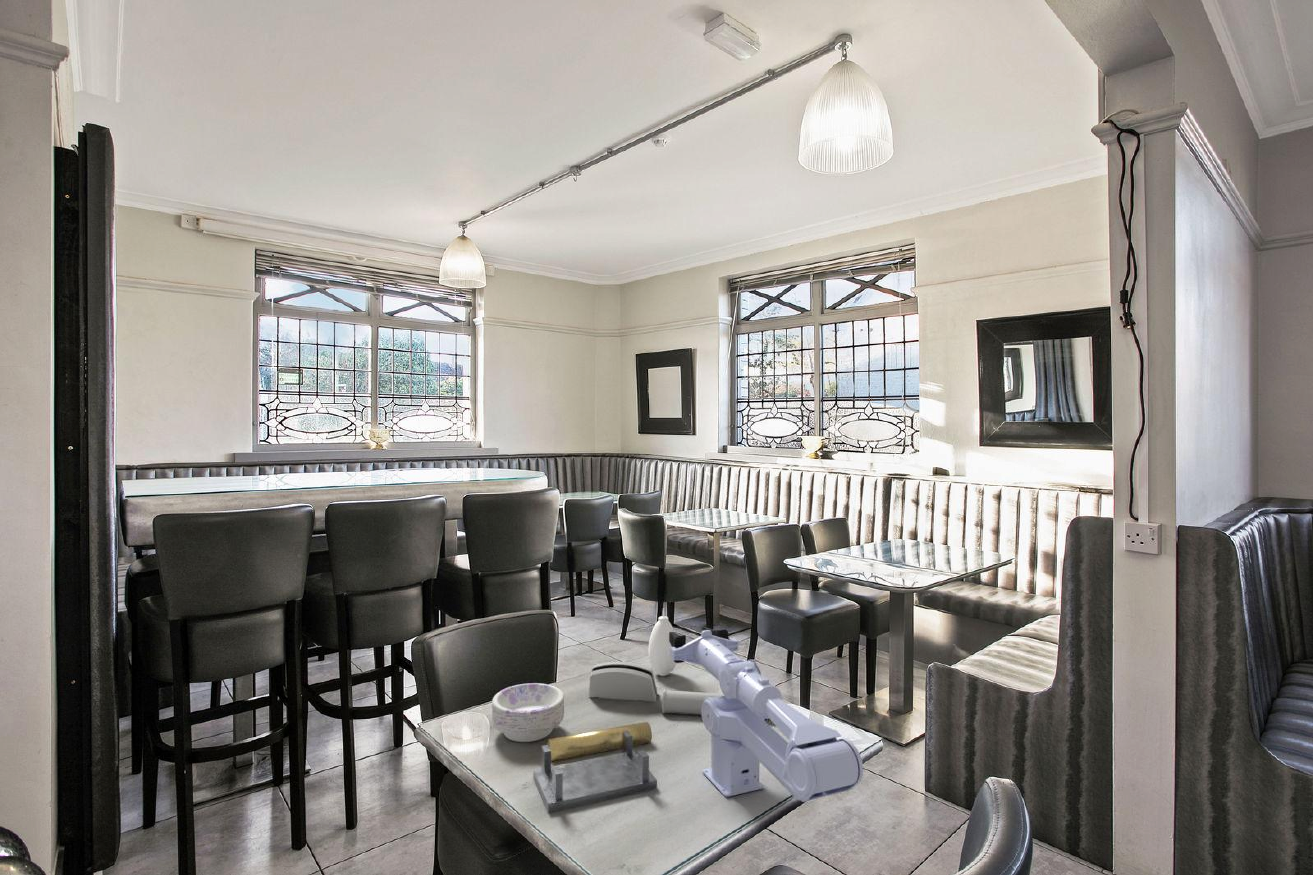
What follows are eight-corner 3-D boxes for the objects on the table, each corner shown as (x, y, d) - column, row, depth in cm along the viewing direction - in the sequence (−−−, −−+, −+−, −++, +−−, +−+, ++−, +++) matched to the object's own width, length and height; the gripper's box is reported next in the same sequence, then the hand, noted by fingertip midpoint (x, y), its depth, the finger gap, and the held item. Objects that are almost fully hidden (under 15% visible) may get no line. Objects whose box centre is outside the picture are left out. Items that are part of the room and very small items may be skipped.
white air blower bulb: (644, 671, 178) (644, 604, 178) (671, 668, 181) (671, 602, 181) (654, 681, 171) (654, 612, 171) (682, 678, 174) (682, 609, 174)
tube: (772, 695, 154) (665, 688, 157) (773, 696, 149) (662, 689, 152) (772, 720, 152) (663, 712, 155) (773, 722, 147) (661, 714, 150)
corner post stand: (657, 788, 120) (657, 755, 120) (548, 812, 113) (548, 777, 112) (633, 758, 131) (633, 728, 131) (533, 778, 124) (533, 746, 124)
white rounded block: (658, 693, 164) (656, 660, 160) (656, 707, 159) (654, 673, 156) (592, 689, 166) (589, 656, 163) (588, 702, 162) (585, 669, 158)
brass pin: (644, 737, 141) (644, 718, 141) (651, 745, 137) (651, 726, 137) (547, 755, 133) (547, 735, 133) (551, 765, 129) (552, 744, 129)
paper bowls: (509, 757, 132) (509, 717, 132) (481, 729, 144) (481, 692, 144) (577, 736, 141) (577, 699, 141) (544, 711, 153) (544, 677, 153)
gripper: (750, 634, 131) (717, 612, 144) (683, 644, 126) (656, 620, 138) (749, 668, 132) (717, 643, 144) (682, 680, 126) (655, 652, 139)
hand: (687, 634), depth 141 cm, fingers open, 7 cm apart
